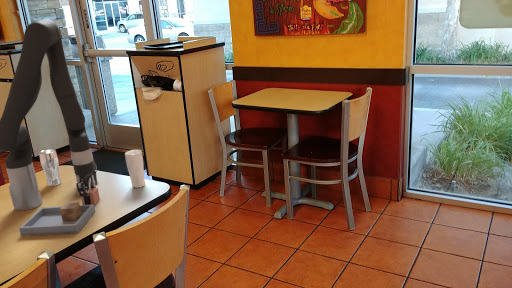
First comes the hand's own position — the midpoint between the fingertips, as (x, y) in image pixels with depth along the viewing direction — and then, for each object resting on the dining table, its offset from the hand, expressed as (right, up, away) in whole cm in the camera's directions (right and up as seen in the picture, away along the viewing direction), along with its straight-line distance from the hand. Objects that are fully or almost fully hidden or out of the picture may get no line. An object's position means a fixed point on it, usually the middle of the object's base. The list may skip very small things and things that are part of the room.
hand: (91, 200), depth 179 cm
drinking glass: (+15, +5, +13) cm, 21 cm away
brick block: (0, -1, 0) cm, 1 cm away
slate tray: (-5, -6, -16) cm, 18 cm away
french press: (-7, +4, +18) cm, 20 cm away
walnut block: (-2, -4, -14) cm, 15 cm away
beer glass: (-24, +5, +23) cm, 33 cm away
